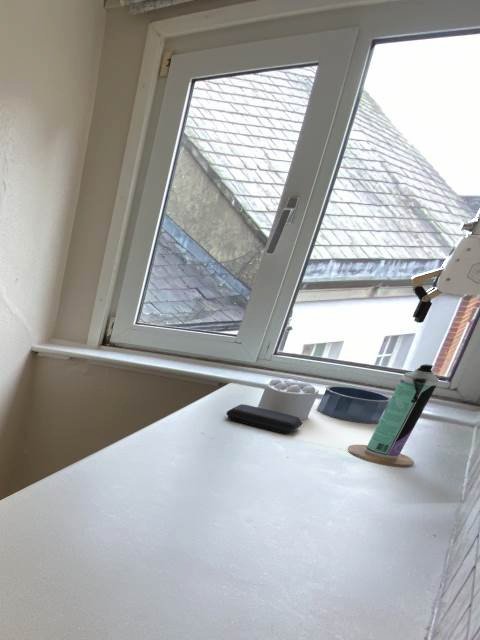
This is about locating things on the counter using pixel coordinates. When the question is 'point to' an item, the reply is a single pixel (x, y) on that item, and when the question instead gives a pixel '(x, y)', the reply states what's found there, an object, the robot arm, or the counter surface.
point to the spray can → (402, 413)
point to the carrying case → (264, 418)
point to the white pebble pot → (289, 397)
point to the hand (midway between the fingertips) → (450, 324)
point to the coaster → (399, 462)
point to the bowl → (353, 404)
